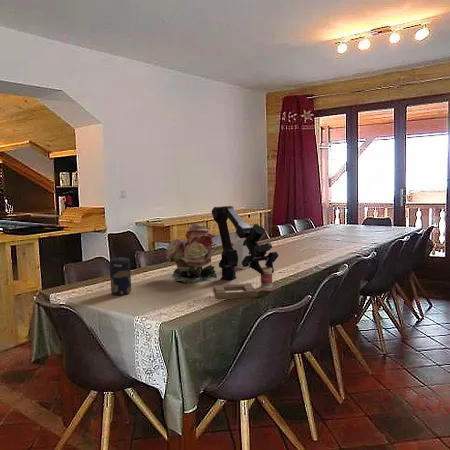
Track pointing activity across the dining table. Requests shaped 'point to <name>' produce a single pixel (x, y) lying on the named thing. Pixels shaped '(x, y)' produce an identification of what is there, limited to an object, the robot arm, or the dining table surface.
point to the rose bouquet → (192, 255)
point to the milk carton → (240, 251)
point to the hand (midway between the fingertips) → (268, 273)
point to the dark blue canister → (120, 275)
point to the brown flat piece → (225, 295)
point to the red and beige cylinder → (266, 277)
